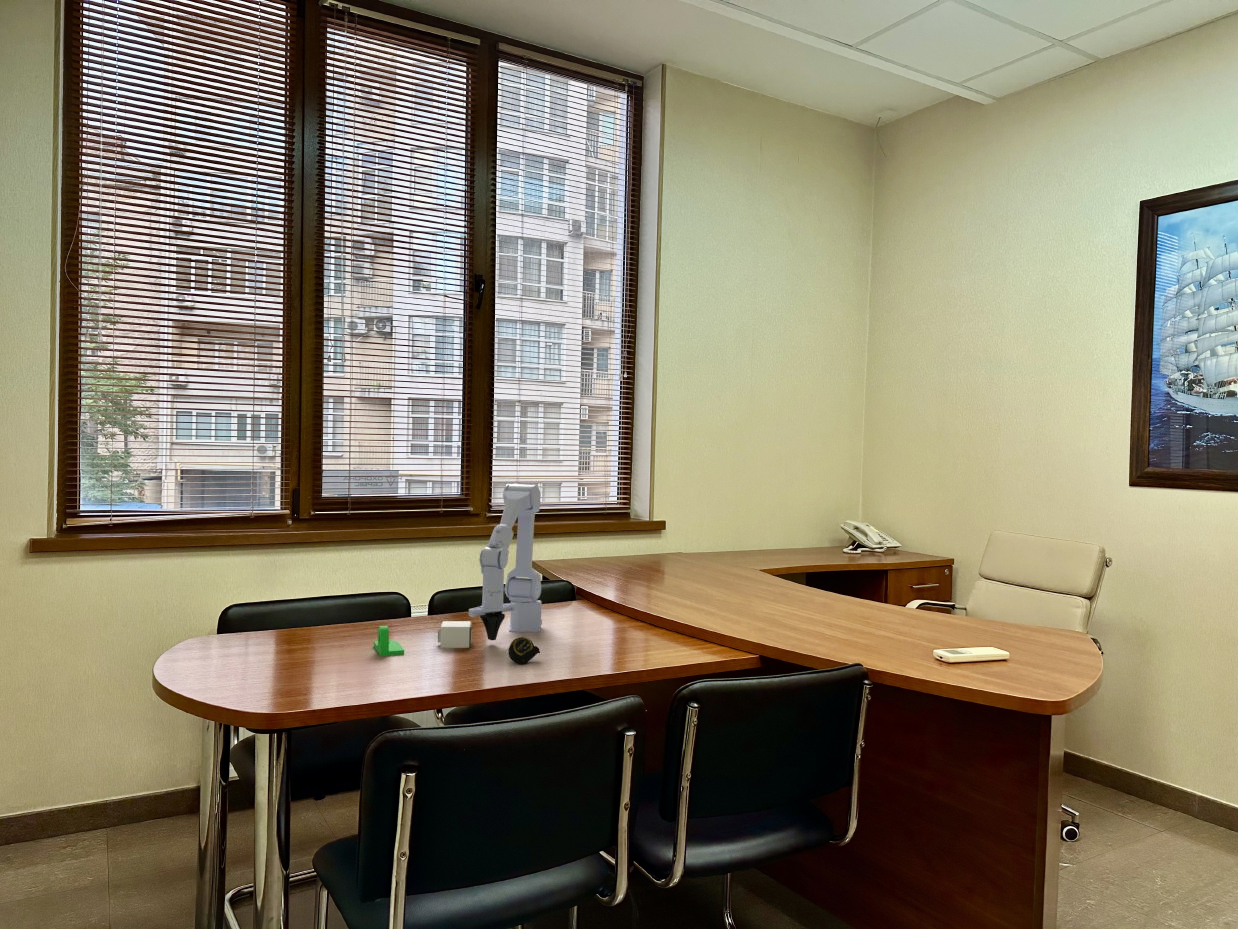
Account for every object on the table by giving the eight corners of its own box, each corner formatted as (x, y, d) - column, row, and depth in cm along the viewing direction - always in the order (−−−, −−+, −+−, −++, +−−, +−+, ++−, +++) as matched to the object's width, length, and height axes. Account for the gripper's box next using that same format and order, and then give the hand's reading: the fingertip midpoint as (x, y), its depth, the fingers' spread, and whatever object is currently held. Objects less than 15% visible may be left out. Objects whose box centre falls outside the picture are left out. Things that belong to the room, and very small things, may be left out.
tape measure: (520, 671, 219) (523, 664, 217) (501, 653, 221) (504, 645, 218) (538, 656, 224) (542, 649, 221) (519, 638, 226) (523, 630, 223)
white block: (471, 643, 242) (472, 621, 242) (470, 649, 235) (470, 626, 235) (442, 643, 241) (443, 621, 241) (440, 649, 234) (441, 626, 234)
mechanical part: (404, 657, 226) (404, 627, 226) (380, 659, 224) (381, 628, 224) (396, 647, 237) (396, 618, 237) (373, 648, 235) (374, 619, 235)
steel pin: (471, 640, 241) (471, 628, 240) (470, 644, 237) (471, 630, 237) (438, 640, 239) (438, 628, 239) (437, 644, 236) (437, 630, 236)
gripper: (505, 585, 247) (504, 633, 247) (462, 591, 237) (461, 640, 237) (520, 589, 242) (519, 637, 242) (477, 595, 232) (476, 645, 232)
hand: (491, 639), depth 239 cm, fingers closed
